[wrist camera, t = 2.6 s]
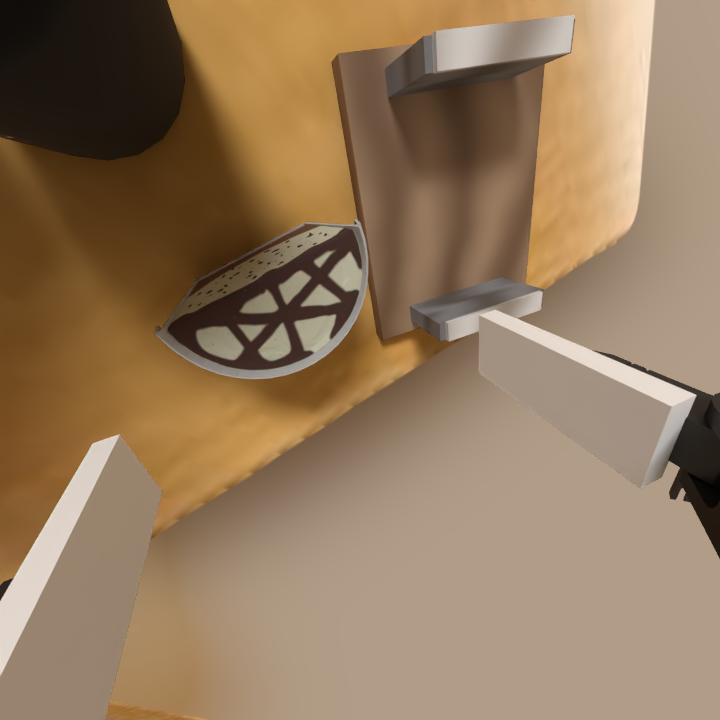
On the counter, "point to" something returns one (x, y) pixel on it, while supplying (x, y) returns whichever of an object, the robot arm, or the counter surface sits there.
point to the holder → (448, 170)
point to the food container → (274, 304)
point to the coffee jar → (89, 75)
